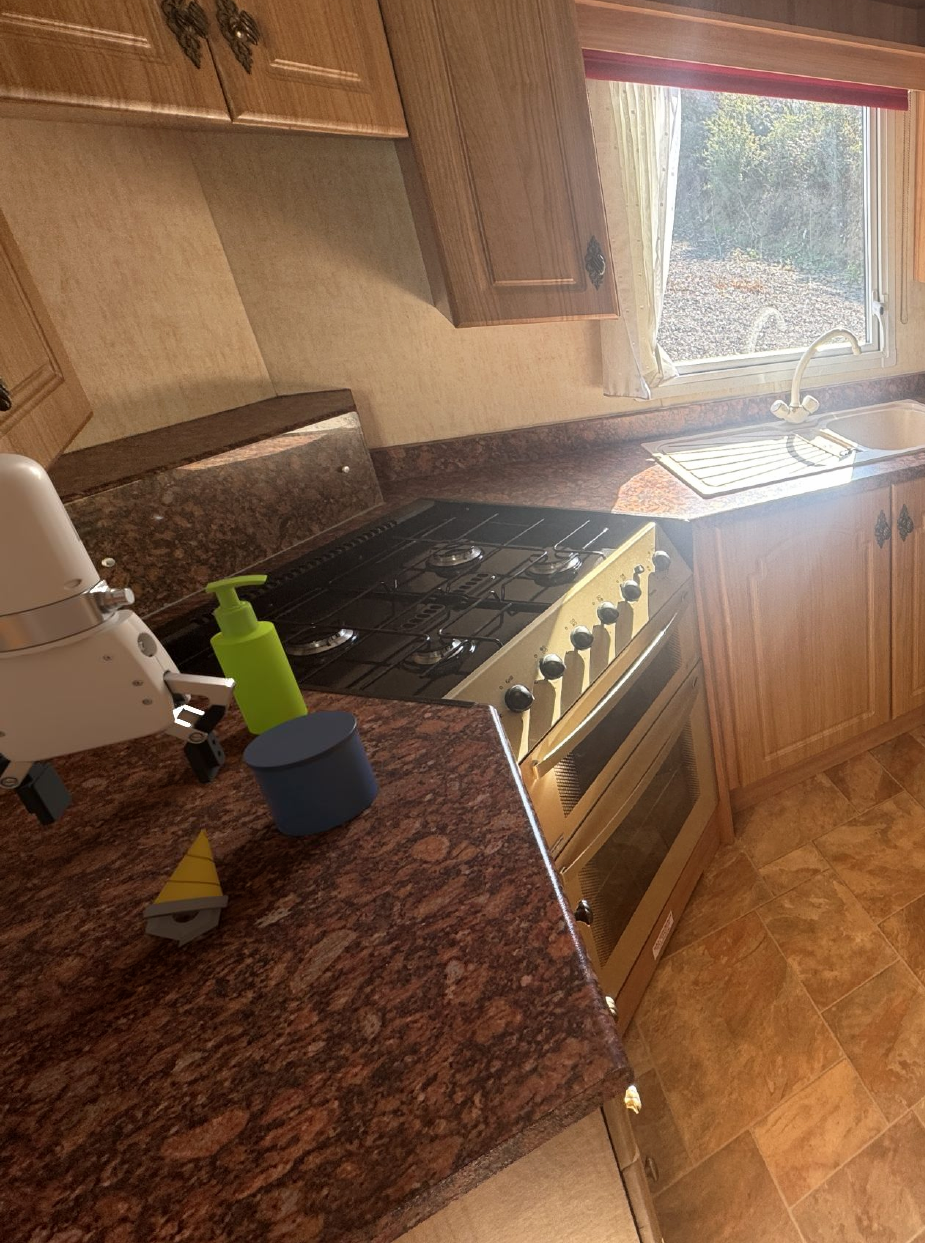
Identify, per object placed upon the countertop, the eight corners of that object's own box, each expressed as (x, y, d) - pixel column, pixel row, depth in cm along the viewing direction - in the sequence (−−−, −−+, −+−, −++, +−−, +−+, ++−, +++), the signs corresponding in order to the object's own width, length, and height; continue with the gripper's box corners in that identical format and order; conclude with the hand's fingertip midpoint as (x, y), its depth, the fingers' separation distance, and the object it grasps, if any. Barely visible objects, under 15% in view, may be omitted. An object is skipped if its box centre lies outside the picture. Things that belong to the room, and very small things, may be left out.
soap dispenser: (316, 721, 95) (261, 583, 87) (245, 740, 92) (182, 598, 84) (319, 699, 100) (267, 565, 92) (252, 716, 96) (193, 579, 88)
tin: (263, 850, 76) (230, 778, 72) (285, 793, 83) (256, 725, 80) (374, 817, 80) (348, 748, 76) (385, 766, 87) (362, 701, 84)
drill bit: (133, 955, 65) (162, 835, 69) (217, 942, 69) (239, 829, 73) (135, 952, 62) (164, 827, 66) (222, 939, 65) (245, 821, 69)
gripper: (205, 574, 63) (277, 736, 70) (-98, 624, 55) (16, 801, 62) (174, 610, 57) (256, 784, 63) (-171, 672, 49) (-36, 863, 56)
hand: (138, 792), depth 63 cm, fingers open, 9 cm apart
